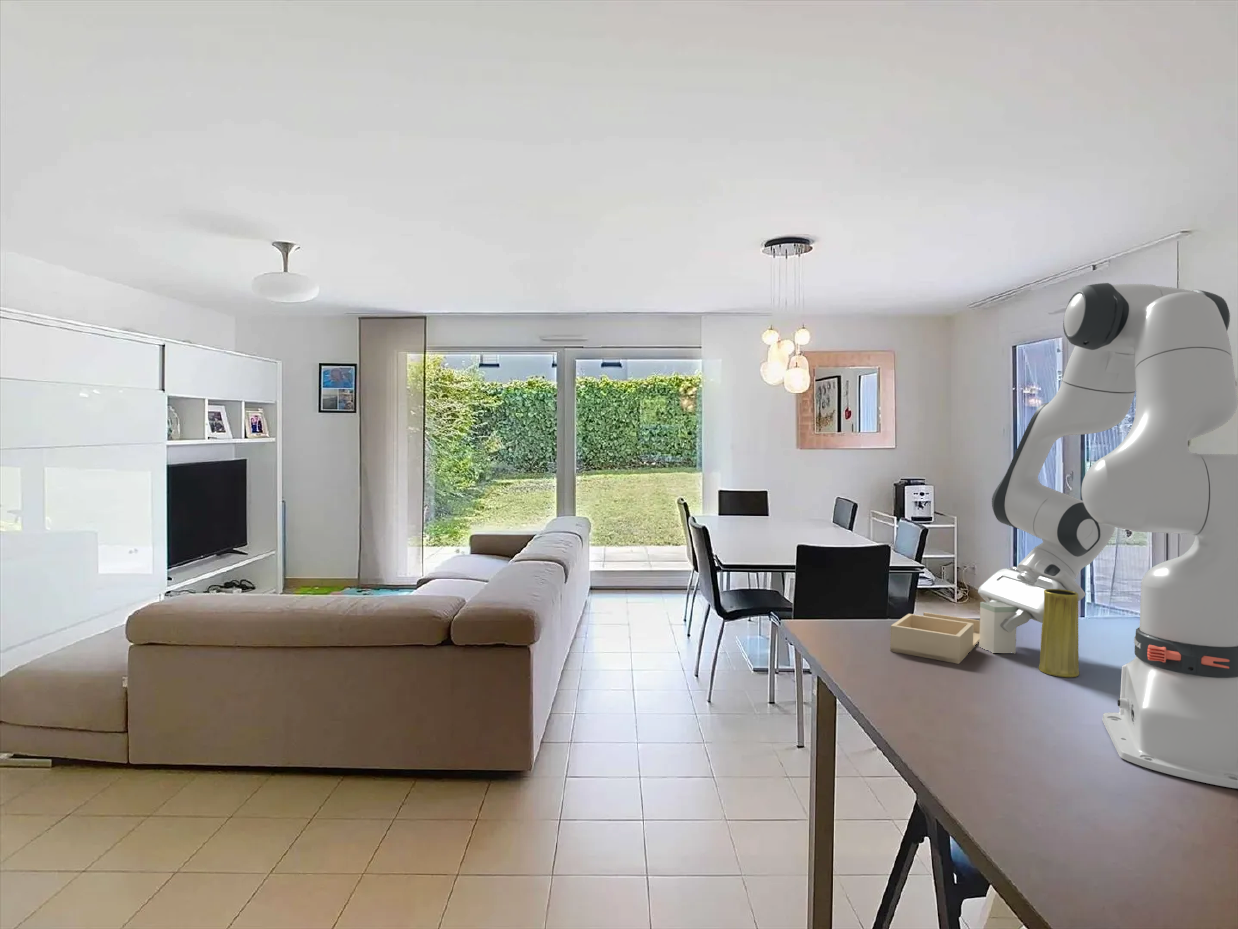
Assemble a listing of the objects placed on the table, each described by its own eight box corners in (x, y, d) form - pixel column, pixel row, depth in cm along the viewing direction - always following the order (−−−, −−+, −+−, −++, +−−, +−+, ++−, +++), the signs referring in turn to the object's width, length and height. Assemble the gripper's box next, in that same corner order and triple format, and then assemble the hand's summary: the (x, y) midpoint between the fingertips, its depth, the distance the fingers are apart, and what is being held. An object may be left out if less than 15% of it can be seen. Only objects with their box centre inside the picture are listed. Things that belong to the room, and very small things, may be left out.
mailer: (959, 663, 129) (959, 636, 129) (890, 651, 136) (890, 625, 136) (985, 635, 148) (985, 611, 148) (923, 625, 156) (924, 603, 155)
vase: (1067, 667, 127) (1070, 588, 127) (1086, 678, 121) (1089, 596, 121) (1032, 666, 128) (1034, 587, 127) (1049, 677, 122) (1051, 595, 121)
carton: (1015, 653, 136) (1017, 606, 135) (993, 654, 135) (994, 607, 135) (1000, 646, 140) (1001, 601, 140) (979, 647, 140) (980, 601, 139)
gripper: (999, 555, 148) (953, 601, 147) (1070, 573, 128) (1018, 627, 127) (1018, 576, 149) (973, 622, 148) (1092, 597, 128) (1040, 651, 128)
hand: (994, 625), depth 137 cm, fingers closed on carton, 4 cm apart
